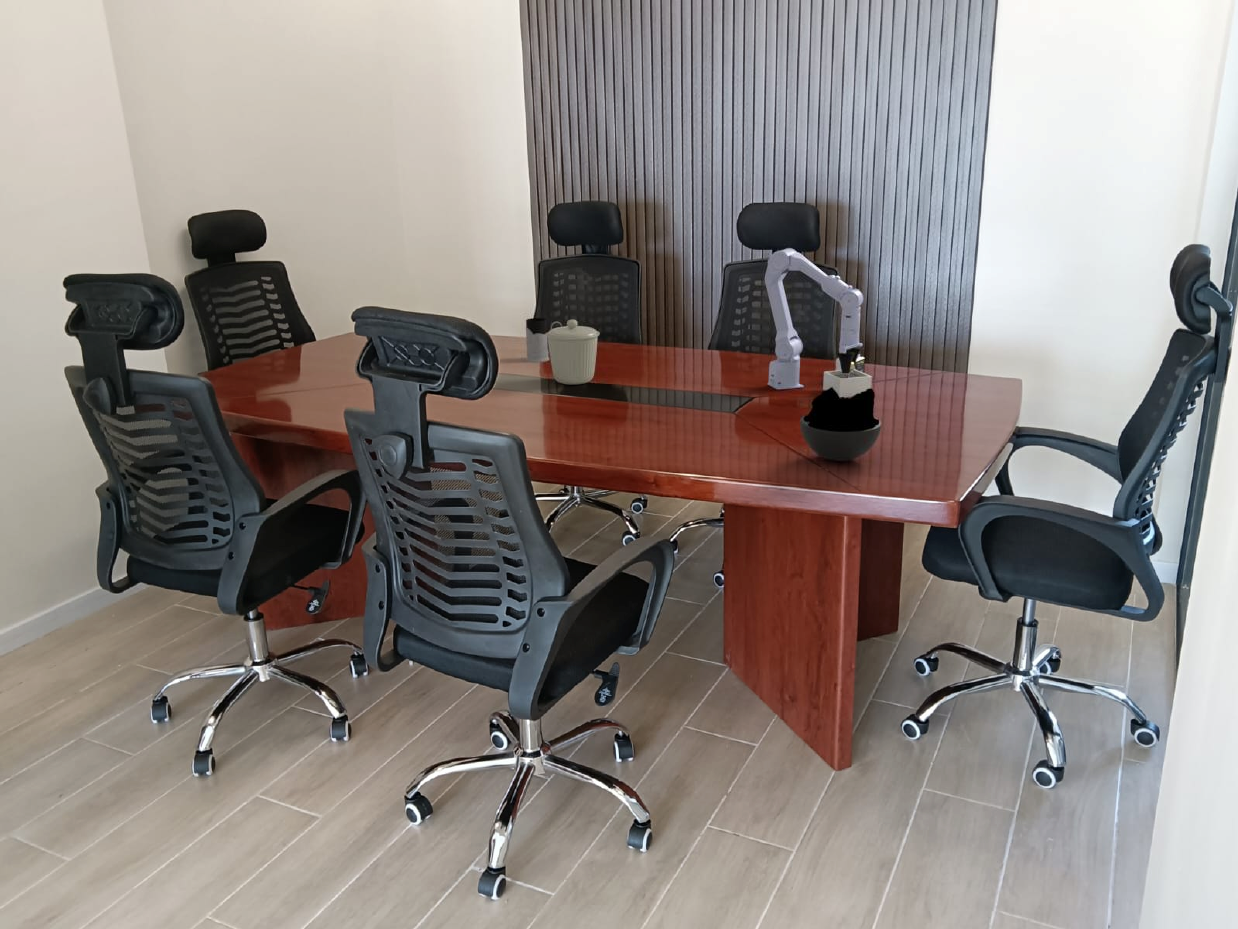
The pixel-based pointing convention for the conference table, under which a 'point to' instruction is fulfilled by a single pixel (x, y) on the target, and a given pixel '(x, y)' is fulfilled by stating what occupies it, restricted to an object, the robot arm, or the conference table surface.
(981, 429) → the conference table surface
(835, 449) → the coal bowl
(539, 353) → the glass holder
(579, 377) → the canister
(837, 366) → the medicine bottle
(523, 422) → the conference table surface
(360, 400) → the conference table surface
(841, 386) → the white open box
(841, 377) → the plunger
